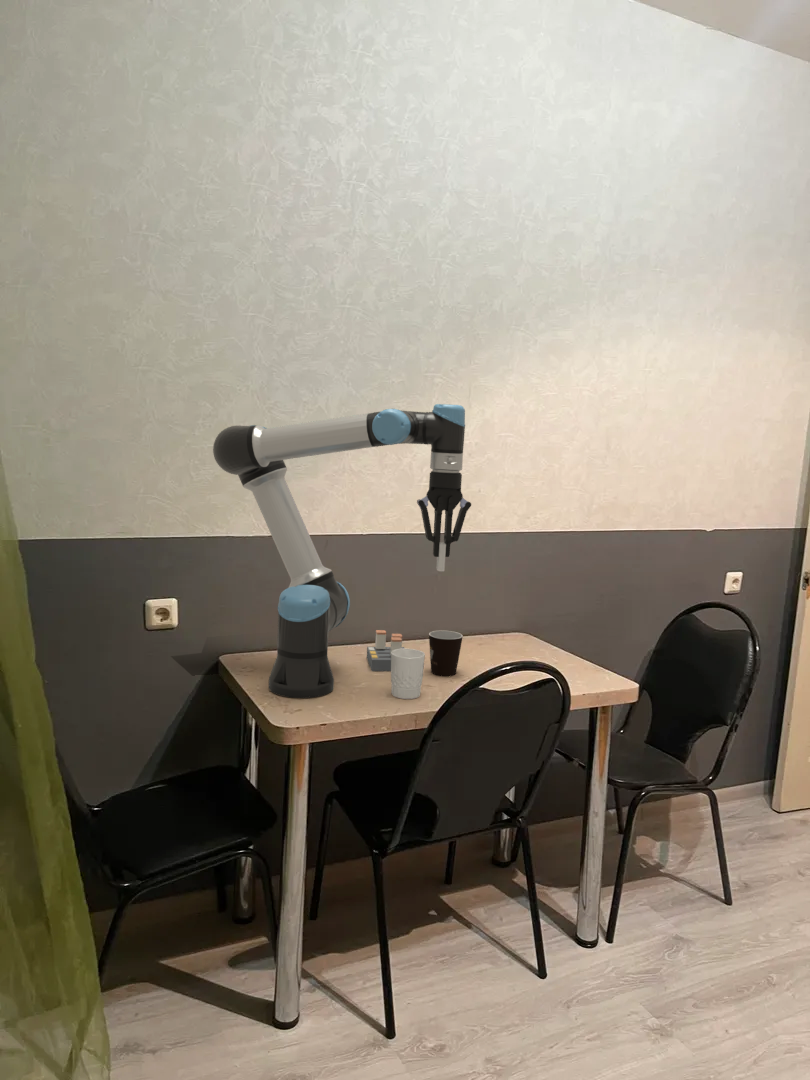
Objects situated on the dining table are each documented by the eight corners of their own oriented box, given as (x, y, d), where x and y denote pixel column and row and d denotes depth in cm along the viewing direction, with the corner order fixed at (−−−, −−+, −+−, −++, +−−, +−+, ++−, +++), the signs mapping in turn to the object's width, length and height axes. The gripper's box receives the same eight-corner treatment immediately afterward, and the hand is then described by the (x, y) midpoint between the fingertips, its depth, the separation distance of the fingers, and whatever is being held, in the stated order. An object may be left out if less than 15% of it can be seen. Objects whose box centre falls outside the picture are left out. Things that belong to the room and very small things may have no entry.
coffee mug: (457, 679, 202) (460, 640, 200) (423, 675, 204) (426, 637, 202) (463, 666, 213) (466, 629, 212) (431, 663, 215) (433, 626, 213)
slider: (376, 649, 213) (376, 632, 212) (375, 646, 215) (375, 630, 215) (385, 649, 213) (386, 632, 213) (384, 646, 216) (385, 630, 215)
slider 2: (392, 653, 210) (392, 636, 209) (390, 650, 213) (391, 633, 212) (401, 653, 211) (402, 636, 210) (400, 650, 213) (401, 633, 212)
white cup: (410, 687, 194) (412, 646, 193) (429, 697, 188) (431, 655, 186) (382, 691, 190) (384, 650, 188) (400, 702, 183) (402, 659, 182)
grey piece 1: (391, 656, 207) (392, 639, 206) (389, 654, 209) (390, 637, 208) (400, 657, 207) (401, 639, 206) (399, 654, 209) (400, 637, 209)
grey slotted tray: (371, 671, 205) (372, 658, 205) (366, 657, 217) (367, 645, 216) (410, 671, 207) (411, 659, 206) (403, 657, 218) (404, 646, 218)
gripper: (421, 471, 185) (415, 572, 188) (476, 473, 187) (470, 573, 190) (415, 469, 192) (410, 566, 195) (469, 471, 194) (463, 568, 197)
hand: (440, 570), depth 193 cm, fingers closed
